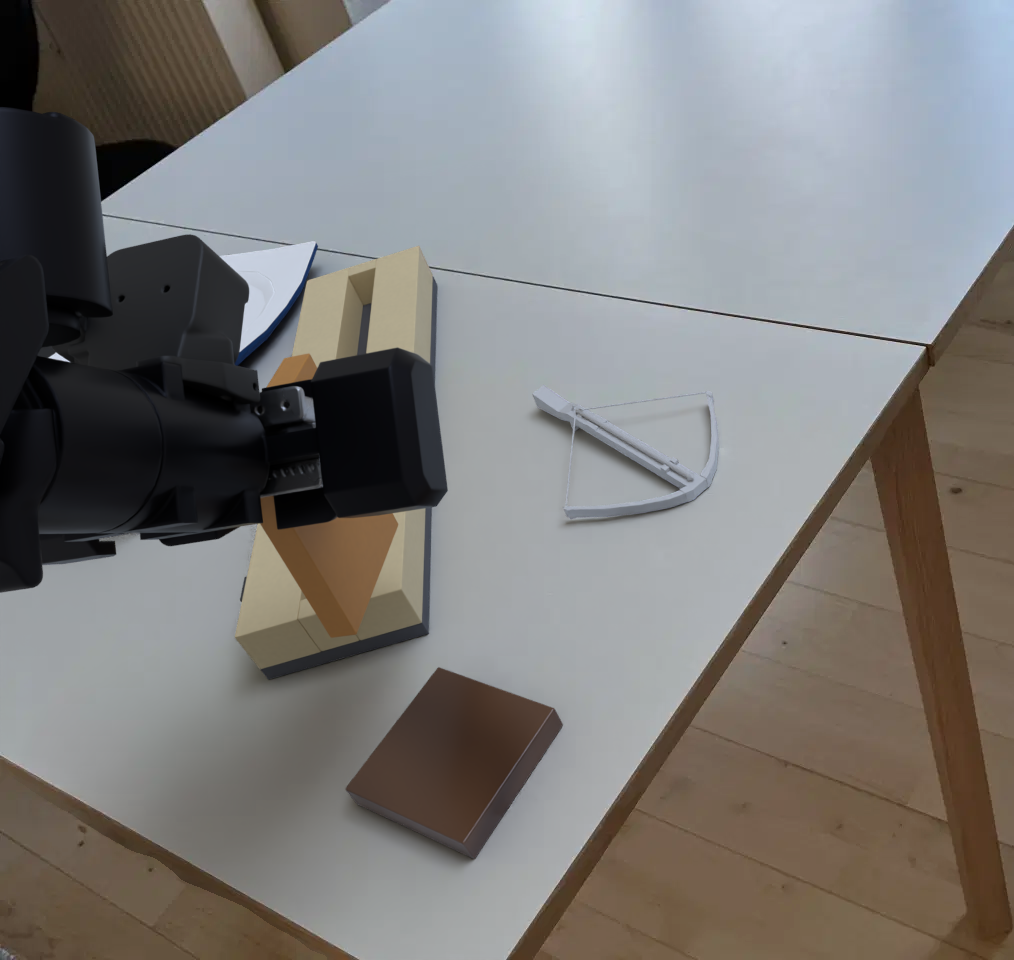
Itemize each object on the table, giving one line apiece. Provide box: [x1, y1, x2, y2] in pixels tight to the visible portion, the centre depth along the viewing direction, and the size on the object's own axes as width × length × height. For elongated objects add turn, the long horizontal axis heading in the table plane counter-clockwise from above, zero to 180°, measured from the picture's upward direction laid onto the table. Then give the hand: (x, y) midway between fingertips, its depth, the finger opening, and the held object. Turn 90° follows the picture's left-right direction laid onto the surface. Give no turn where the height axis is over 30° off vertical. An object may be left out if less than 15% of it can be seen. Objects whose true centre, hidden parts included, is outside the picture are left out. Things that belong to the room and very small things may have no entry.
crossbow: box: [531, 384, 720, 520], centre depth 71 cm, size 16×13×2 cm
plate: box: [218, 240, 319, 366], centre depth 98 cm, size 20×20×3 cm
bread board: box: [344, 666, 564, 859], centre depth 56 cm, size 8×8×2 cm
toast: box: [260, 353, 398, 638], centre depth 53 cm, size 8×1×11 cm, turn 176°
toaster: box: [234, 245, 438, 680], centre depth 78 cm, size 40×11×4 cm, turn 8°
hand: (323, 471), depth 53 cm, fingers closed on toast, 1 cm apart
